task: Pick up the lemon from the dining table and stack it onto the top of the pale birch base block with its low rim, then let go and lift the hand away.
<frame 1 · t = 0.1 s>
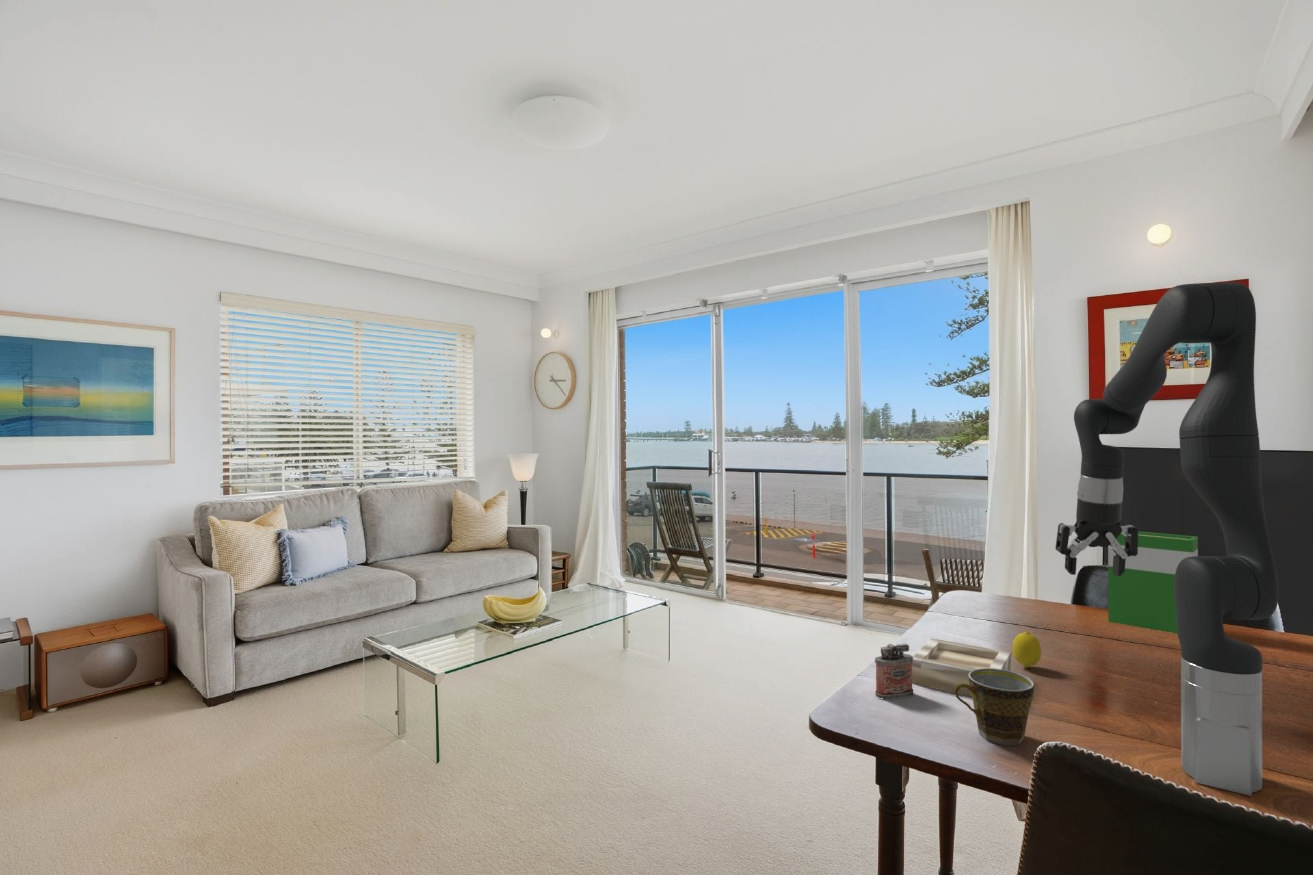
hand: (1094, 574, 133), 22 cm above the table, tool pointing down, fingers open, 8 cm apart
ceramic cup: (992, 738, 111), on the table
lighter: (894, 696, 129), on the table
green striped box: (1152, 626, 171), on the table
lemon: (1026, 668, 142), on the table
birch base: (961, 681, 137), on the table
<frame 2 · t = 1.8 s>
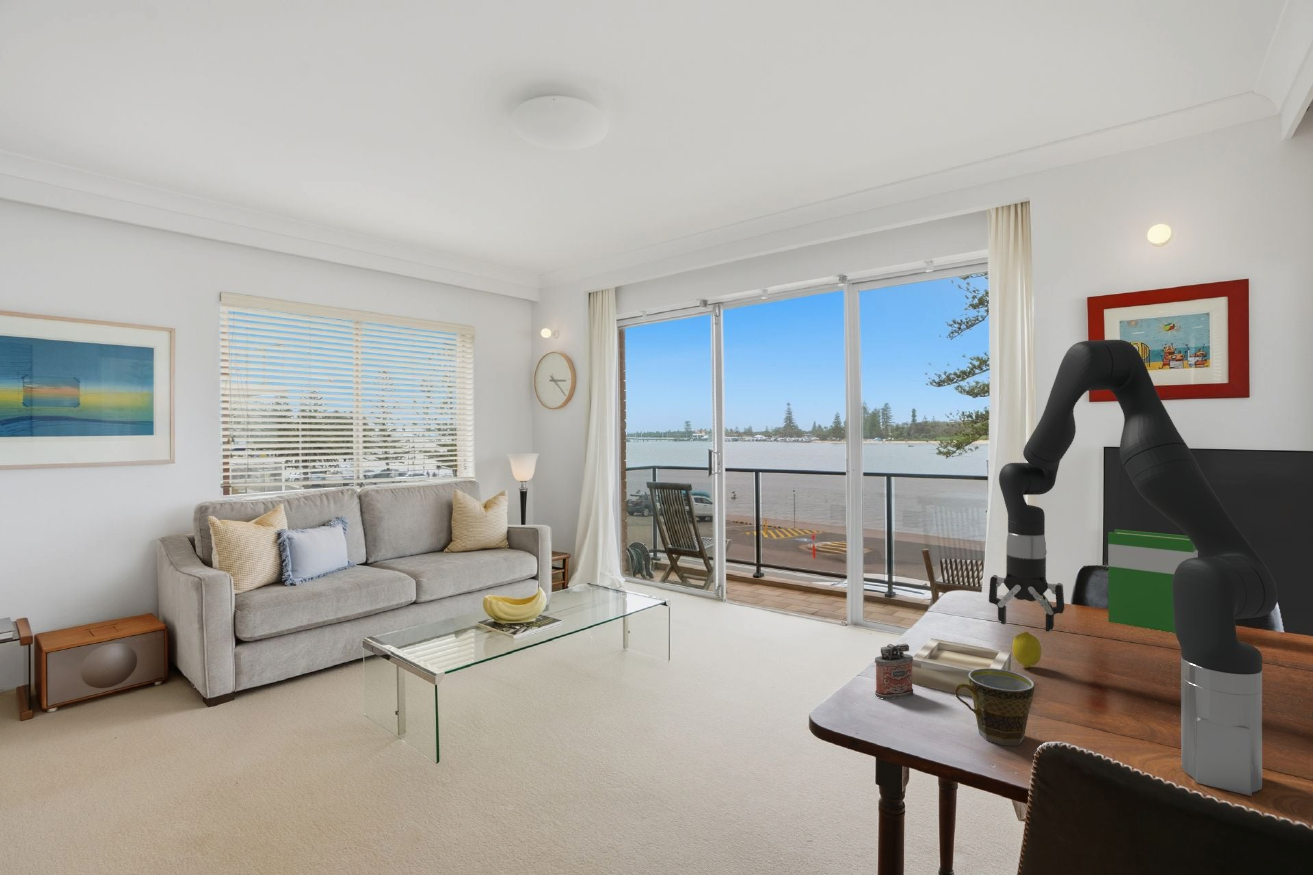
hand: (1025, 627, 142), 9 cm above the table, tool pointing down, fingers open, 8 cm apart
nothing on the table moved.
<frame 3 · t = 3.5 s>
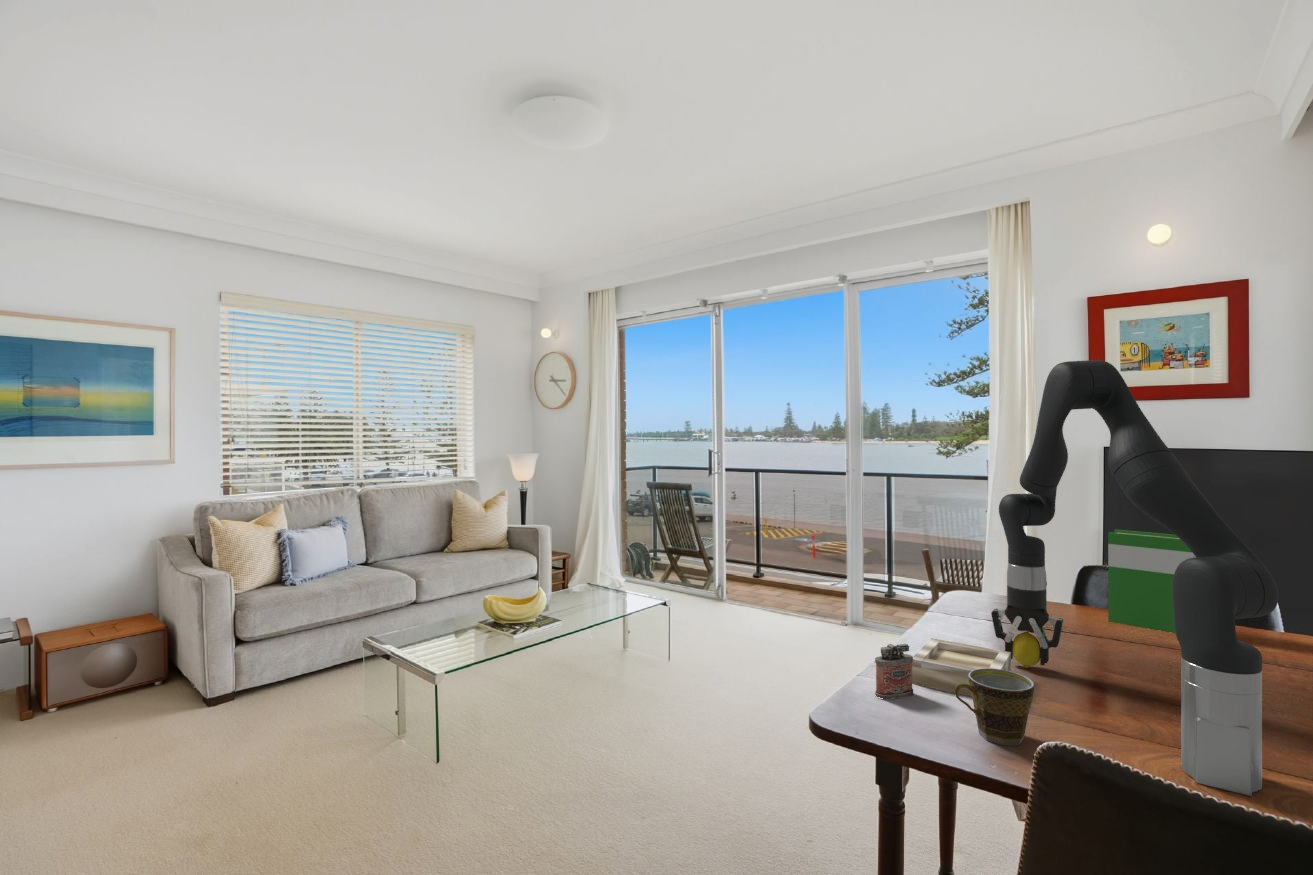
hand: (1026, 661, 142), 2 cm above the table, tool pointing down, fingers closed on lemon, 5 cm apart
lemon: (1026, 668, 142), on the table, touching gripper
everything else where it was.
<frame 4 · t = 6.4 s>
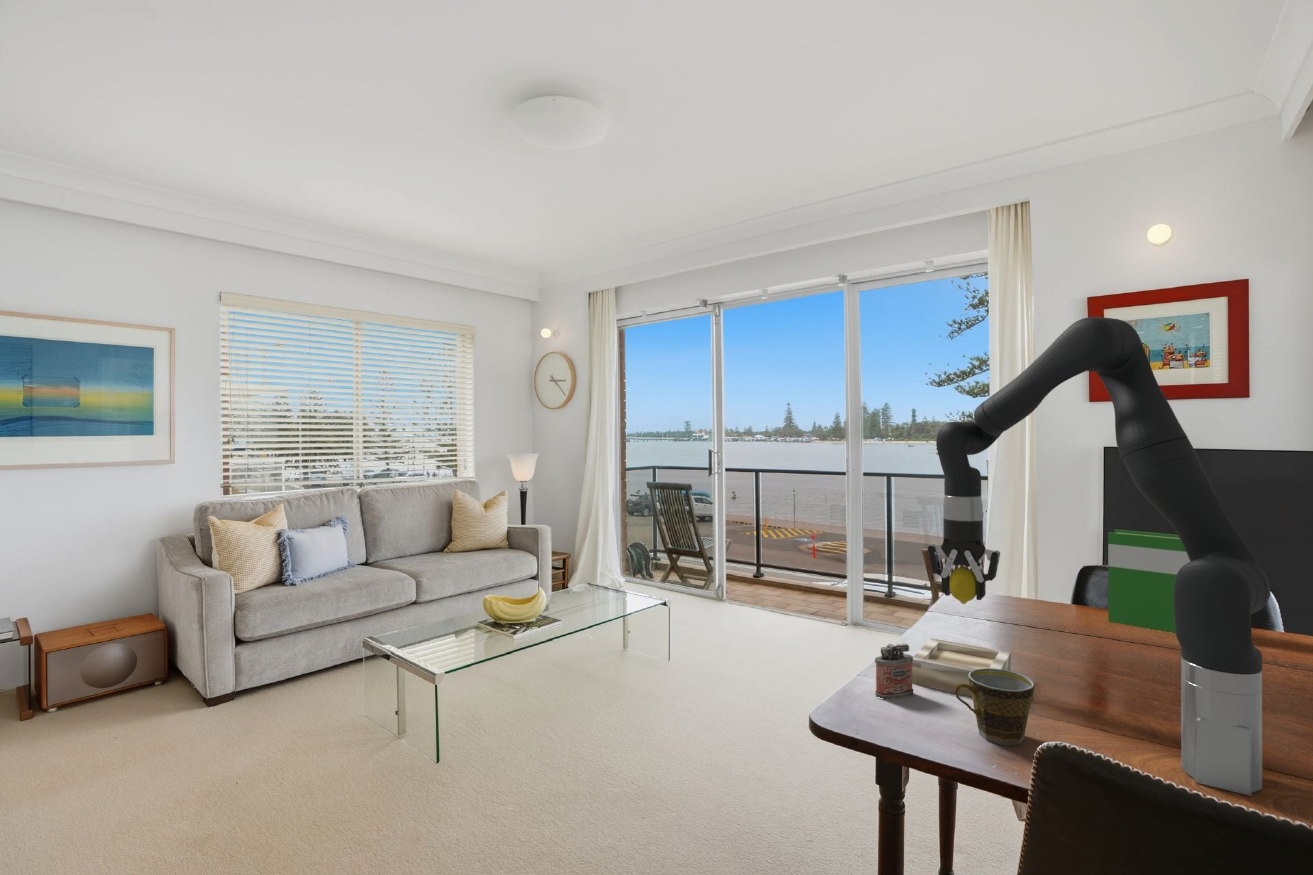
hand: (963, 596, 136), 17 cm above the table, tool pointing down, fingers closed on lemon, 5 cm apart
lemon: (963, 604, 137), point 16 cm above the table, touching gripper
everything else where it was.
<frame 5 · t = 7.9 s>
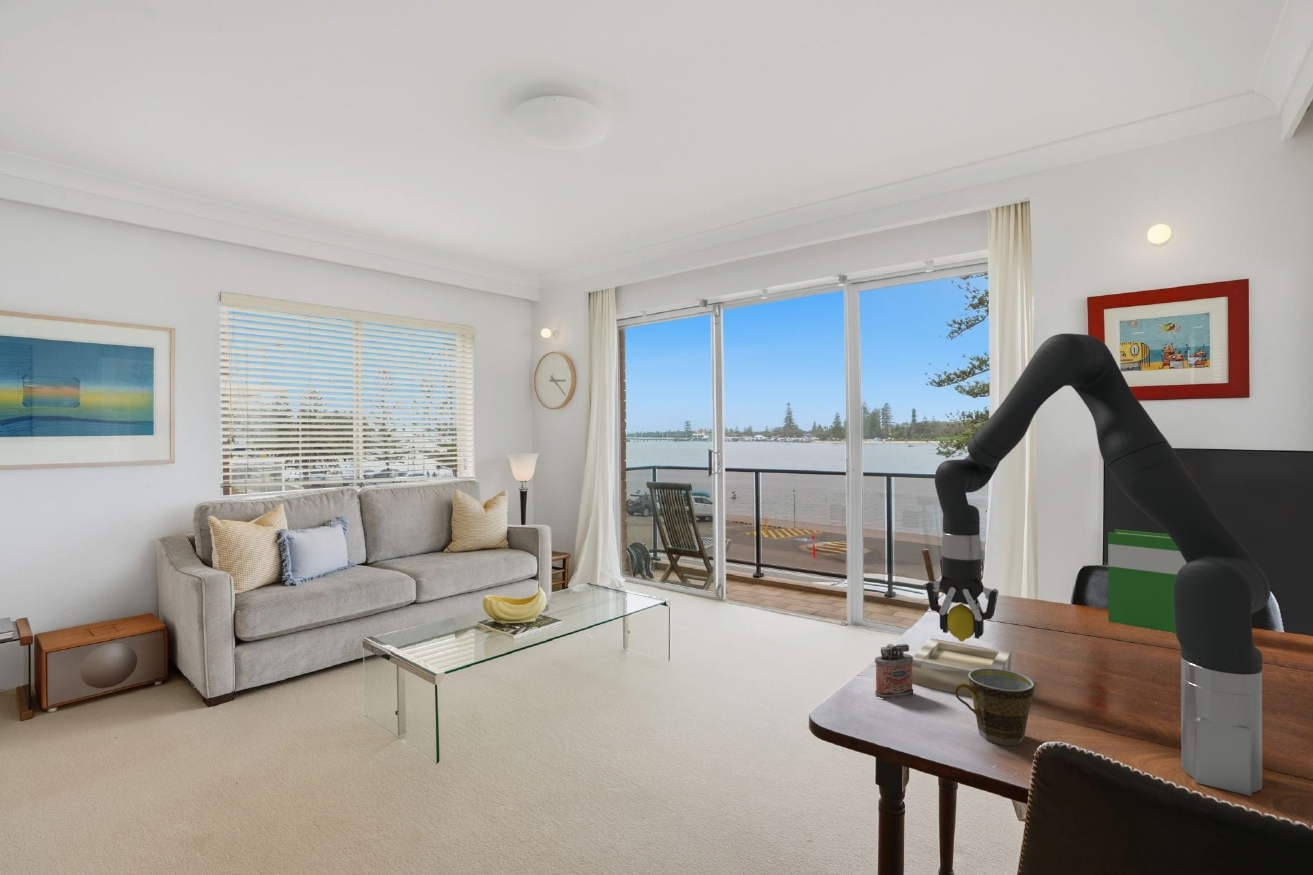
hand: (961, 634, 136), 10 cm above the table, tool pointing down, fingers closed on lemon, 5 cm apart
lemon: (961, 642, 136), point 8 cm above the table, touching gripper
everything else where it was.
when the fingers open (7 cm above the table, at t = 9.3 s): lemon drops 2 cm, resting on birch base.
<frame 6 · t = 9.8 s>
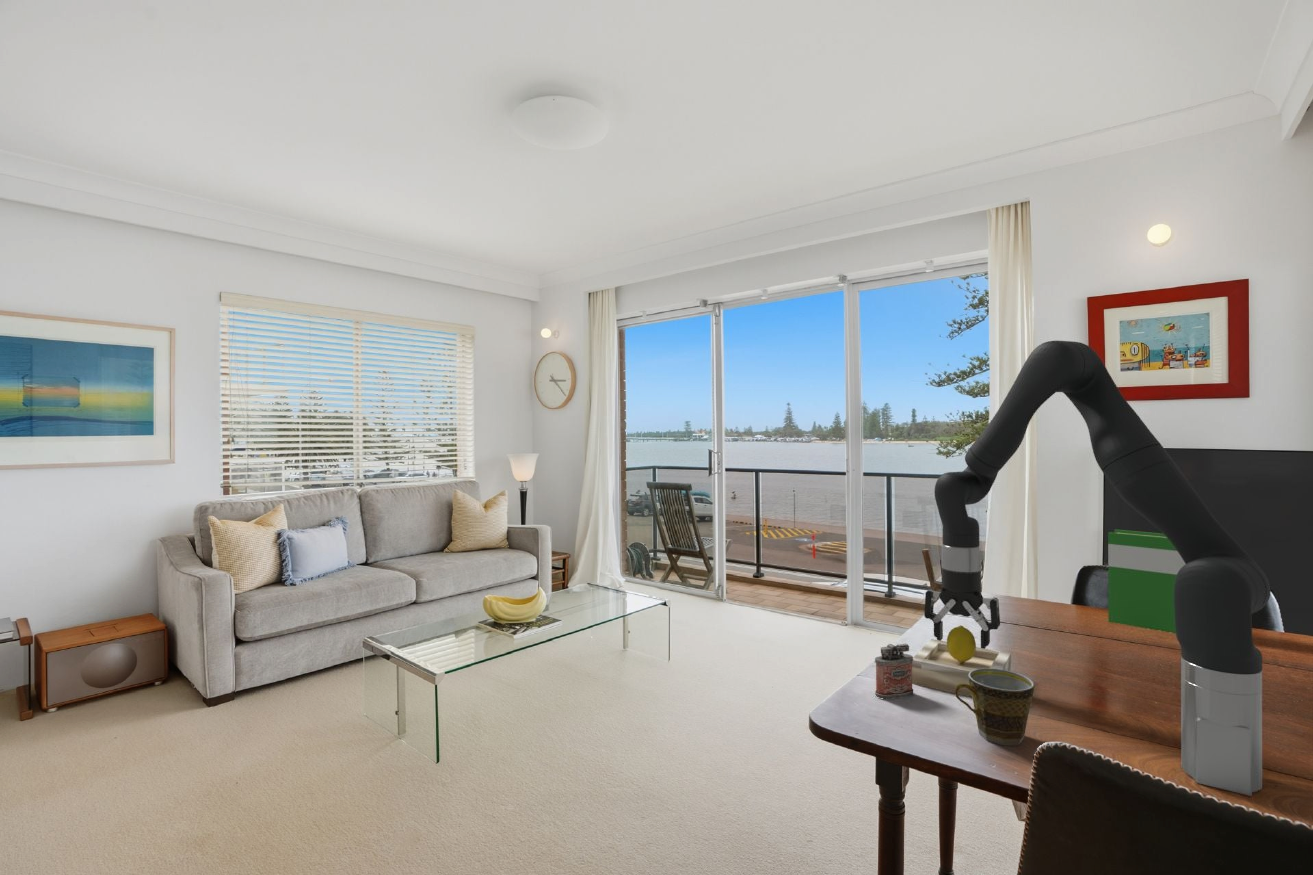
hand: (961, 643, 136), 8 cm above the table, tool pointing down, fingers open, 8 cm apart
lemon: (961, 664, 137), point 3 cm above the table, touching birch base
birch base: (961, 682, 137), on the table, touching lemon
everything else where it was.
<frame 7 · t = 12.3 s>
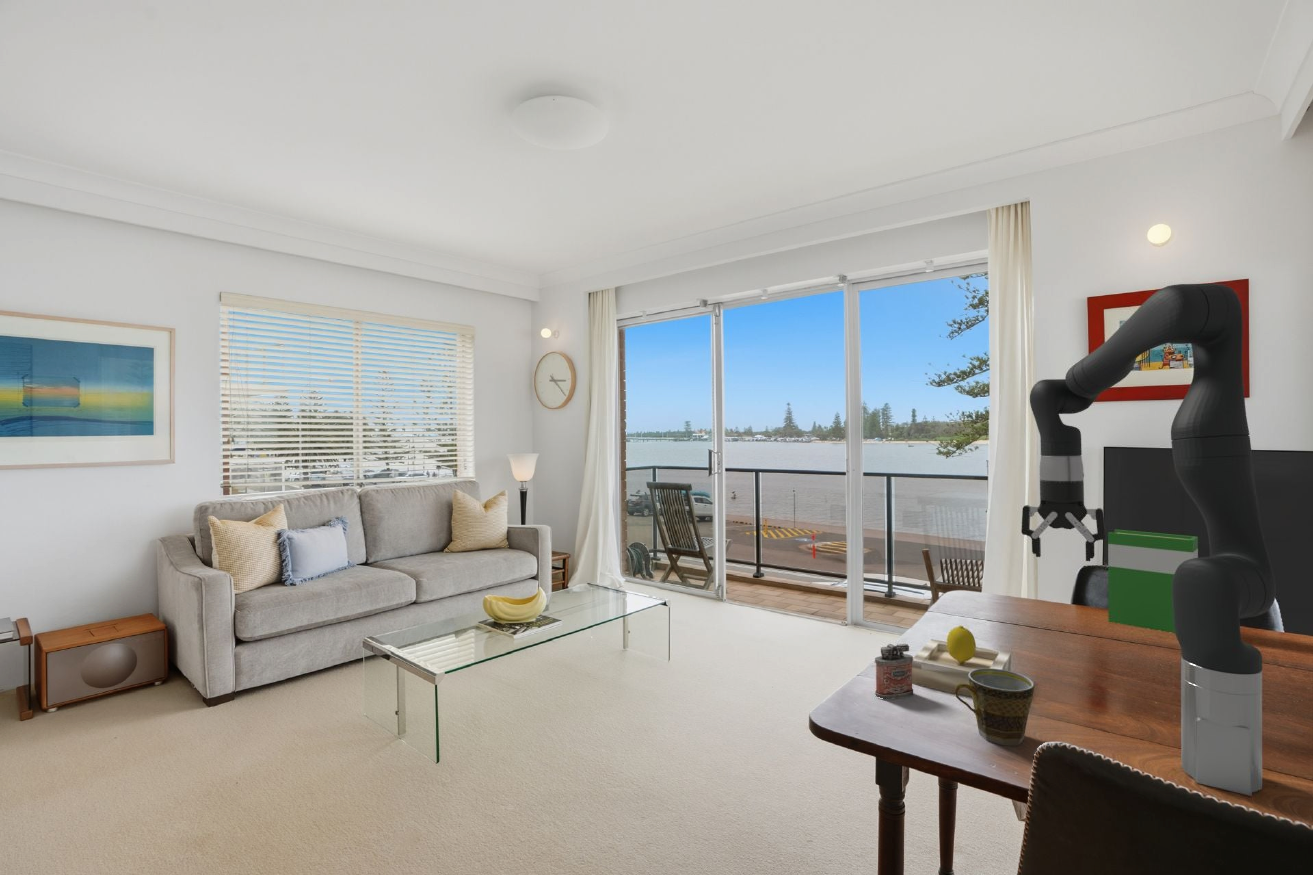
hand: (1062, 558, 131), 26 cm above the table, tool pointing down, fingers open, 8 cm apart
nothing on the table moved.
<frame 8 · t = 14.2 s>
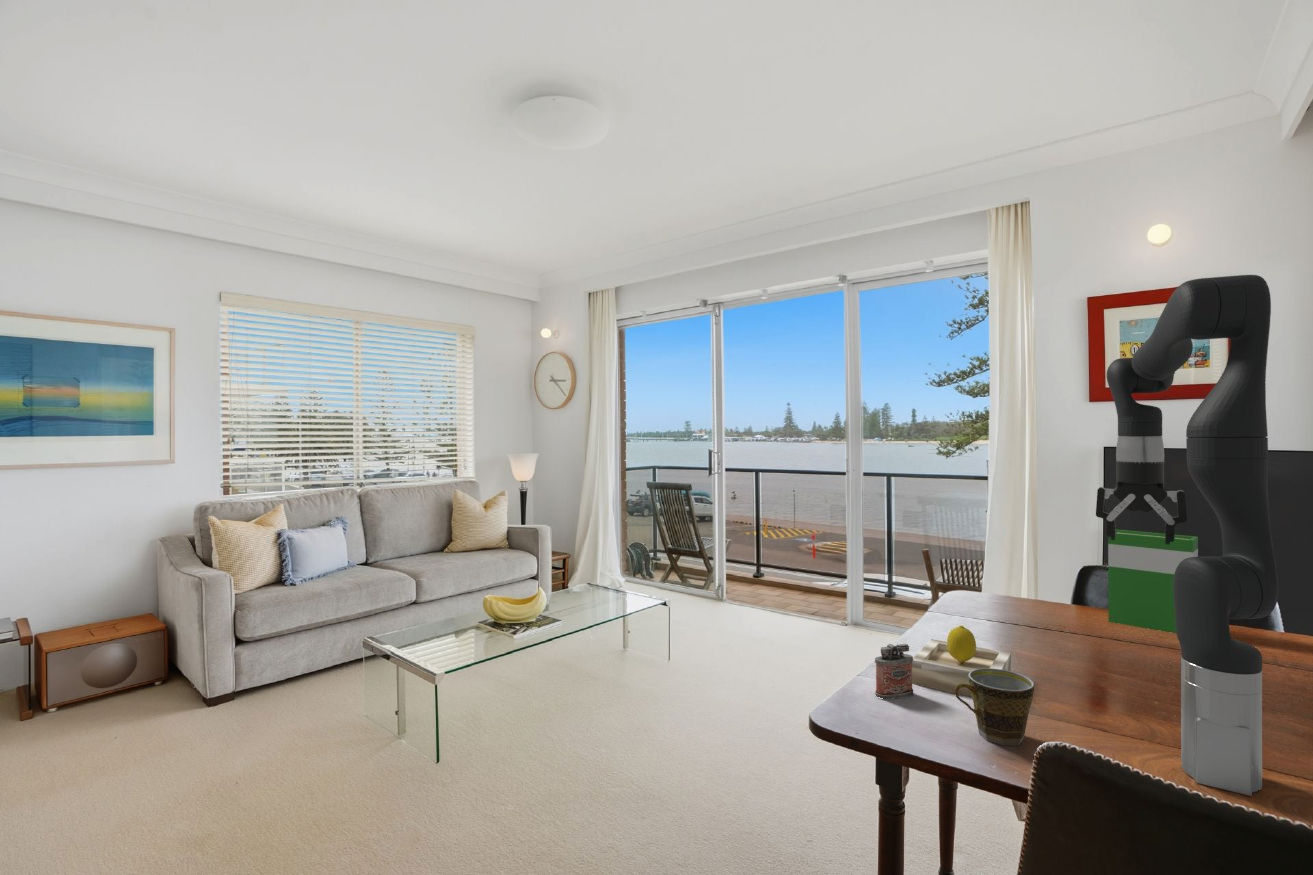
hand: (1139, 541, 127), 30 cm above the table, tool pointing down, fingers open, 8 cm apart
nothing on the table moved.
at the end: lemon inside the target area on the birch base (0.1 cm from its centre), point 3.8 cm above the birch base's base; the gripper is holding nothing; birch base moved 0.6 cm from its start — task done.
